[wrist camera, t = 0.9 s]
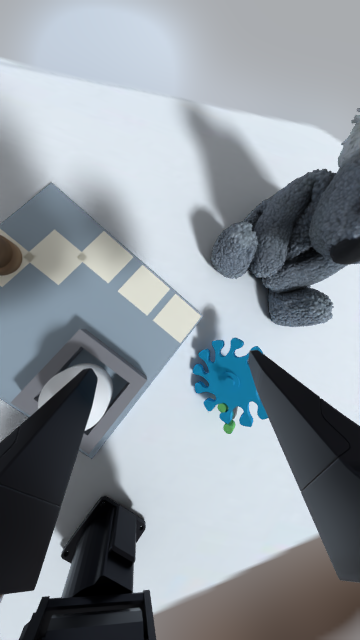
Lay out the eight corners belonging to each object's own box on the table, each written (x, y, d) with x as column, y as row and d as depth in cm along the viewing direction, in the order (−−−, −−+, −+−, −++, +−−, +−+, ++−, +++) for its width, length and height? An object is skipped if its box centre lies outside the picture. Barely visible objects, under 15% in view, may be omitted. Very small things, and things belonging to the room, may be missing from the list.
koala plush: (197, 262, 24) (398, 20, 5) (260, 180, 28) (525, -153, 9) (283, 335, 27) (632, 346, 8) (332, 251, 30) (663, 115, 11)
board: (93, 453, 20) (86, 473, 17) (-107, 321, 17) (-155, 319, 14) (201, 316, 24) (209, 314, 21) (54, 188, 21) (41, 166, 18)
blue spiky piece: (196, 331, 22) (287, 349, 17) (213, 330, 27) (288, 344, 22) (184, 414, 22) (269, 458, 17) (203, 398, 27) (274, 429, 22)
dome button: (87, 430, 18) (69, 462, 13) (39, 397, 17) (5, 420, 13) (124, 384, 19) (119, 400, 14) (81, 352, 18) (62, 358, 14)
